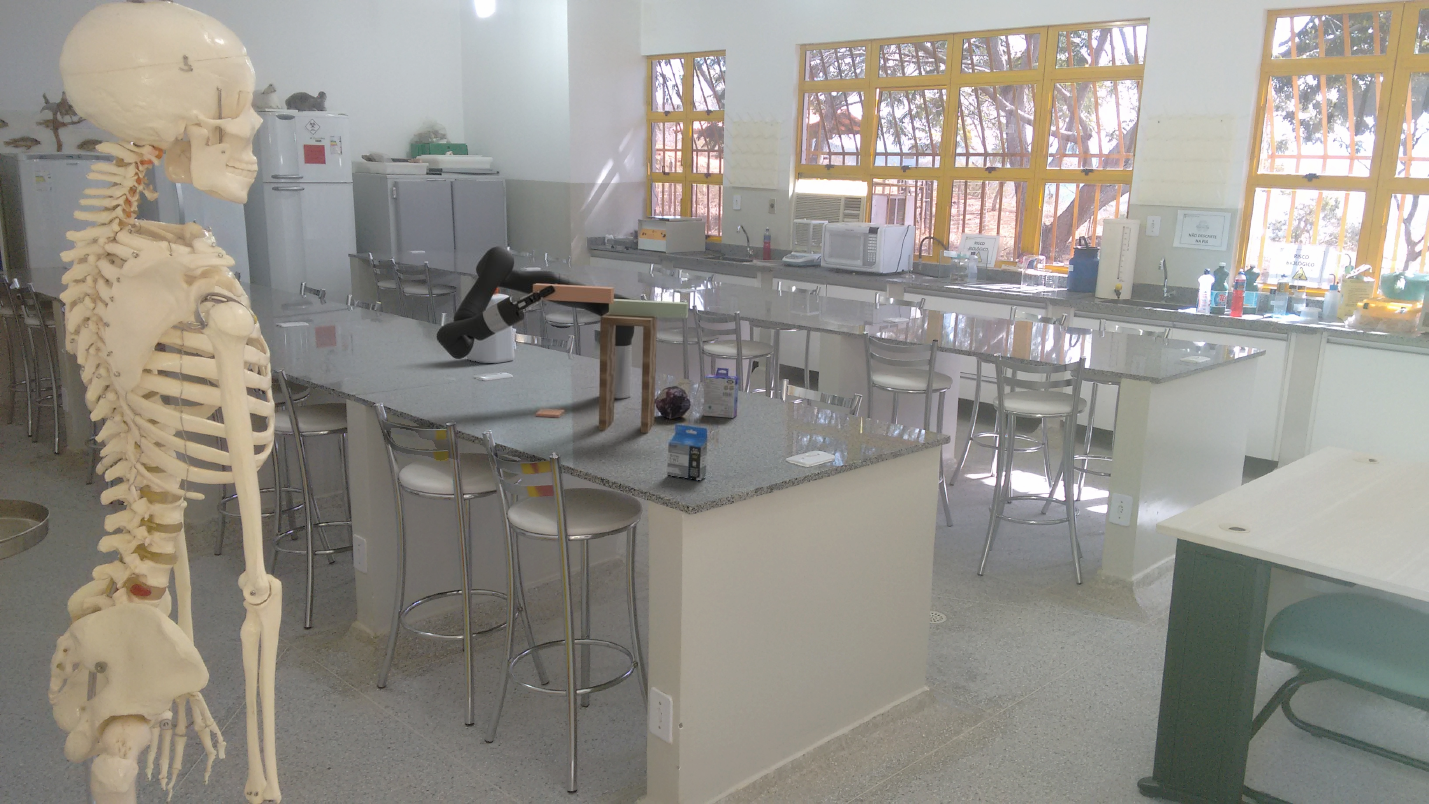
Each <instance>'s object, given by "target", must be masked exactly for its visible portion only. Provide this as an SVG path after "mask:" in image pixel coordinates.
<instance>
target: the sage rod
mask: <svg viewBox="0 0 1429 804" xmlns="http://www.w3.org/2000/svg"><path fill="white" fill-rule="evenodd" d="M609 315H629V316H649V317H657V318H669V319H670V318H671V319H673V318H675V319H687V318H688V317H689V302H686V301H684V302H681V301H664V300H663V301H661V300H644V299H643V300H641V299H631V300H625V299H614V302H612V303H609Z"/></svg>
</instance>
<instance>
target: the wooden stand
mask: <svg viewBox="0 0 1429 804" xmlns="http://www.w3.org/2000/svg"><path fill="white" fill-rule="evenodd" d="M599 320H600V321H599V322H600V323H599V325H600V326H599V327H600V329H599V330H600V333H599V334H600V335H599V336H600V337H599V381H598V382H599V385H598V386H599V390H598V391H599V394H598V396H599V397H598V398H599V399H598V400H599V401H598V431H607V430H608V428H610V426H611V425H612V424H613V423H614V422H615V398H614V381H615V327H616V325H622V326H634V327H642V328H643V329H642V332H643V333H642V337H643V338H642V363H641V364H642V365H641V366H642V367H641V369H642V370H641V371H642V372H641V375H642V377H641V404H640V405H641V407H640V408H641V409H640V411H641V412H640V414H641V415H640V416H641V417H640V433H641V434H649V432H650V431H651V429H652V428H651V427H653V426H654V425H655V414H656V413H655V411H656V409H655V408H656V406H655V399H656V372H657V371H656V370H657V369H656V368H657V367H656V366H657V338H658V337H657V335H658V332H657V331H658V330H657V329H658V317H649V316H629V315H609V312H608V313H607V314H605V315H603V316H602V317H601V316H600V318H599ZM653 424H654V425H653Z"/></svg>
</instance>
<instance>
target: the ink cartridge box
mask: <svg viewBox="0 0 1429 804" xmlns="http://www.w3.org/2000/svg"><path fill="white" fill-rule="evenodd" d="M720 371H725V372H720ZM703 384H704V386H703V387H704V388H703V408H702V409H703V411H702V412H703V413H702V416H705V417H717V418H731V419H734V418H735V417H737V416H738V400H739V399H738V398H739V376H737V375H736V376H735V375H729V368H727V367H716V373H715V374H707V375H706V376H704V383H703Z"/></svg>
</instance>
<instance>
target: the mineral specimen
mask: <svg viewBox="0 0 1429 804" xmlns="http://www.w3.org/2000/svg"><path fill="white" fill-rule="evenodd" d="M691 407H692V402H691V399H690V397H689V395H688V393H687V392H686V390H685V389H683V388H682V387H680V386H677V385H673V386H668V387H665V388H663V389H662V390H661V391H660V392H659V393H658V395H657V397H655V408H656V409H657V410H658V413H659V414H660V415H661V416H663V417H664V418H667V419H668V418H669V420H673V419H678V418H680V417H683V416H685V415H686V413H687V412H688V411H689V410H690V409H691Z"/></svg>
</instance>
